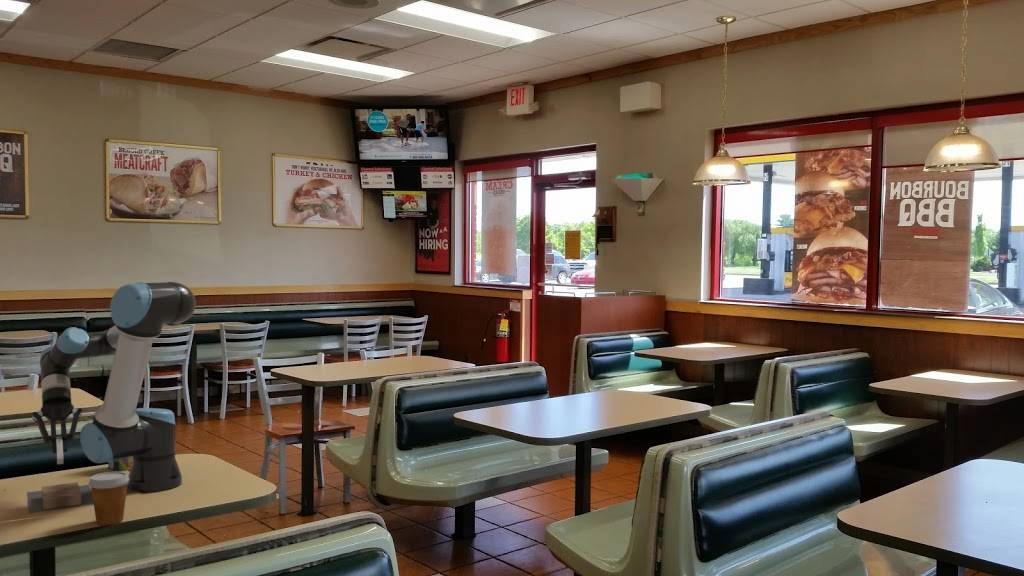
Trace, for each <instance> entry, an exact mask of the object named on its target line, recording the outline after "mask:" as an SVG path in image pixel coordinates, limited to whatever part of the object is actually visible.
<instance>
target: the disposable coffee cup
mask: <svg viewBox="0 0 1024 576" xmlns="http://www.w3.org/2000/svg"><path fill="white" fill-rule="evenodd" d="M128 476H129V474H128V473H127V472H126V471H121V472H118V471H105V472H101V473H100V472H99V473H96V474H94V475H92V476H91V477H90V480H89V482H88V485H89V486H90V489H91V492H92V497H93V509H94V515H95V516H94V517H95V521H96V525H99V526H111V525H115V524H116V525H117V524H119V523H121V522H123V521H124V514H125V507H126V498H127V492H128V491H127V490H128V488H127V483H128V481H129V477H128ZM122 520H123V521H122Z"/></svg>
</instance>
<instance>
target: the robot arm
mask: <svg viewBox="0 0 1024 576" xmlns="http://www.w3.org/2000/svg"><path fill="white" fill-rule="evenodd" d="M196 302H197V301H196V296H195V295H194V293H193V291H192V290H191V288H189V287H188V286H186V285H184V284H183V283H180V282H177V281H167V282H166V281H165V282H163V281H162V282H161V281H160V282H133V283H127V284H124V285H122V286H120V287H119V288H118V289H117V290H116V291H115V293H113V296H112V297H111V301H110V307H109V310H110V312H111V313H110V317H111V319H112V321H113V323H114V325H113V326H111V327H110V328H108V329H106V330H104V331H96V332H95V331H93V332H86V331H85V330H84V329H82V328H77V327H76V326H75V327H72V326H71V327H68V328H66V329H65V330H64V331H63V332H62V333H61V334H60V335H59V336H58V338H57V340H56V341H55V343H54V345H53V346H49V347H47V348H46V349H43V350H42V352H41V354H40V356H39V357H40V358H39V359H40V360H39V366H40V380H41V381H40V384H41V386H40V387H41V401H42V402H41V404H42V406H41V408H40V410H38V411H33V412H32V421H34V422H35V423H36V425H37V427H38V430H39V433H40V435H41V438H42V440H43V442H44V444H51V452H52V453H51V454H56V465H63V464H64V453H67V451H68V442H69V441H70V442H73V441H74V438H75V434H76V432H77V431H76V430H77V426H78V422H79V419H80V418H81V417H82V415H83V409H82V408H81V407H80V408H76V407H75V406H74V404H73V403H72V393H71V379H70V375H71V374H70V369H72V367H73V366H74V364H75V363H76V362H77V360H80V359H87V358H98V357H106V356H114V357H113V360H112V361H113V362H112V365H111V370H110V373H109V378H108V382H107V387H106V390H105V395H104V400H103V403H102V407H101V408H99V409H97V410H96V411H95V413H94V415H93V420H92V422H87V423H86V424H85V425H83V426H82V427H81V429H80V436H79V438H80V439H79V440H80V445H81V448H82V451H83V452H84V454H85V456H86V457H87V459H89V460H90V461H91V462H92V463H95V464H103V463H108V462H111V461H113V460H118V459H122V458H126V457H131V456H133V464H132V467H131V470H129V474H128V477H129V481H128V483H127V490H130V491H135V492H140V493H148V492H149V493H150V492H161V491H165V490H166V489H167V490H170V488H171V489H174V488H177V487H179V486H181V485H182V483H183V480H182V479H183V476H182V473H181V469H180V467H179V465H178V461H177V459H176V427H175V426H176V421H175V420H176V418H175V412H173V410H171V409H167V408H156V407H155V408H154V407H144V408H143V407H139V408H137V406H138V401H139V398H140V394H141V389H142V385H143V381H144V378H145V374H146V370H147V365H148V363H149V362H148V361H149V358H150V354H151V350H152V346H153V341H154V340H155V339H156V338H159V337H160V336H161V334H162V330H163V329H165V328H167V327H175V326H178V325H180V324H181V323H183V322H186V321H187V320H189V319H190V318H191V317H192V316H193V315H194V312H195V310H196V307H197V305H196V304H197V303H196ZM71 414H72V416H73V417H72V422H71V425H70V429H69V433H68V434H67V422H66V421H67V419H68V418H69V417H70V415H71ZM43 416H44V418H45V419H47V420H48V421H50V435H49V432H48V431H47V428H46V425H45V422H44V420H43ZM57 421H58V422H59V421H60V434H61V435H60V436H61V439H60V438H59V439H57V427H56V426H57V425H56V423H57ZM178 485H179V486H178ZM176 486H177V487H176Z"/></svg>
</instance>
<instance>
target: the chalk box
mask: <svg viewBox="0 0 1024 576" xmlns="http://www.w3.org/2000/svg"><path fill="white" fill-rule="evenodd" d="M107 463H108V464H107V466H108V467H107V468H108V469H111V470H113V472H126V471H129V472H130V470H131V467H132V464H133V456H131V457H126V458H122V459H118V460H113V461H111V462H107Z"/></svg>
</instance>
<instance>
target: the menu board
mask: <svg viewBox="0 0 1024 576" xmlns="http://www.w3.org/2000/svg"><path fill="white" fill-rule="evenodd" d="M79 486H80V485H79V483H78V482H69V483H63V484H53V485H46V486H45V485H44V486H41V491H42V501H43V508H44V510H45V509H53V508H60V507H67V506H75V505H81V493H80V489H79Z"/></svg>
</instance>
